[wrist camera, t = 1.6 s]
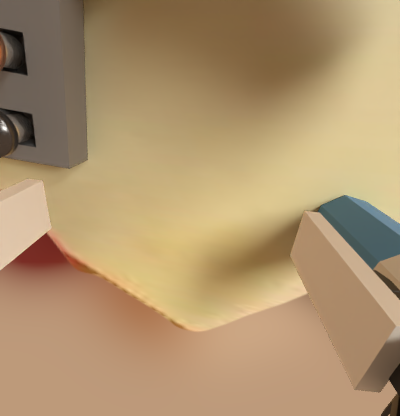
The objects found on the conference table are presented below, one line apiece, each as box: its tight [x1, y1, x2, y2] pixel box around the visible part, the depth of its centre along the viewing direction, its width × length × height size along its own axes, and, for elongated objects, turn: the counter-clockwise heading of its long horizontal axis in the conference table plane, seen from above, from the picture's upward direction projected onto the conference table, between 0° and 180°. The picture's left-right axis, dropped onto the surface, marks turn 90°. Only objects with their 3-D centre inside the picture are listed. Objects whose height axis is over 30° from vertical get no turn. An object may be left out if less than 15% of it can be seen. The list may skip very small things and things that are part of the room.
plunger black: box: [0, 111, 34, 158], centre depth 27 cm, size 5×5×5 cm
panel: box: [0, 0, 88, 169], centre depth 28 cm, size 24×12×5 cm, turn 170°
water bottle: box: [318, 195, 400, 290], centre depth 27 cm, size 9×9×25 cm
